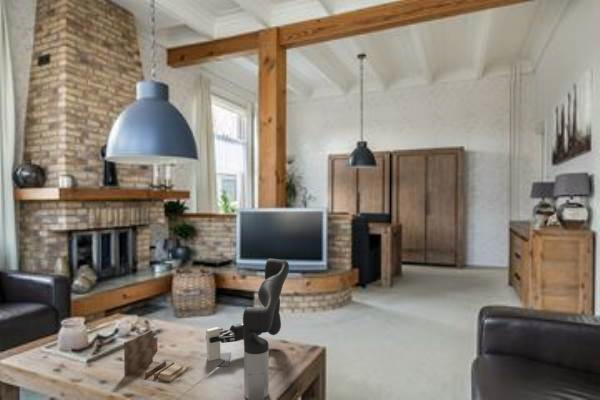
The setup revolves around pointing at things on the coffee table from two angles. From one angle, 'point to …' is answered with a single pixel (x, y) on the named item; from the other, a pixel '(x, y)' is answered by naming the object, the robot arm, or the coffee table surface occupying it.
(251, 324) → the robot arm
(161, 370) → the rack
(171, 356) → the coffee table surface
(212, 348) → the block
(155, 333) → the lighter
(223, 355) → the mat
